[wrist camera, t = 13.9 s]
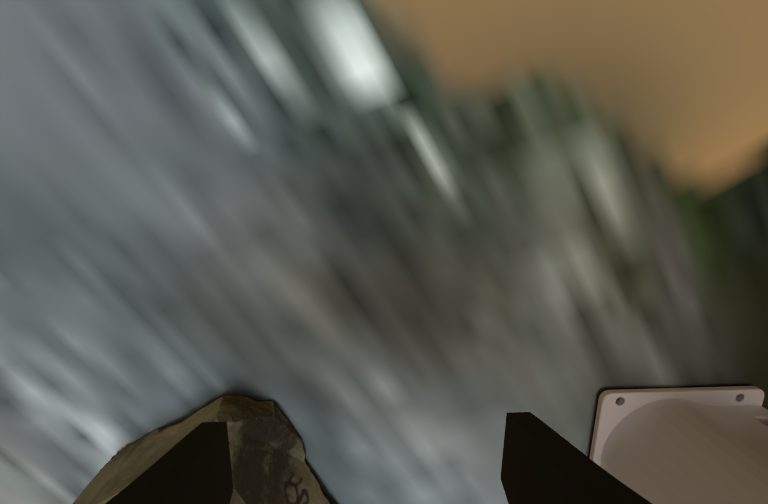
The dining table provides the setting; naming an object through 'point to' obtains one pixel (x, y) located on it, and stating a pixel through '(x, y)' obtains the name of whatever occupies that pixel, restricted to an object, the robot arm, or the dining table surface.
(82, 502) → the stone block
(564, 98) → the dining table surface
